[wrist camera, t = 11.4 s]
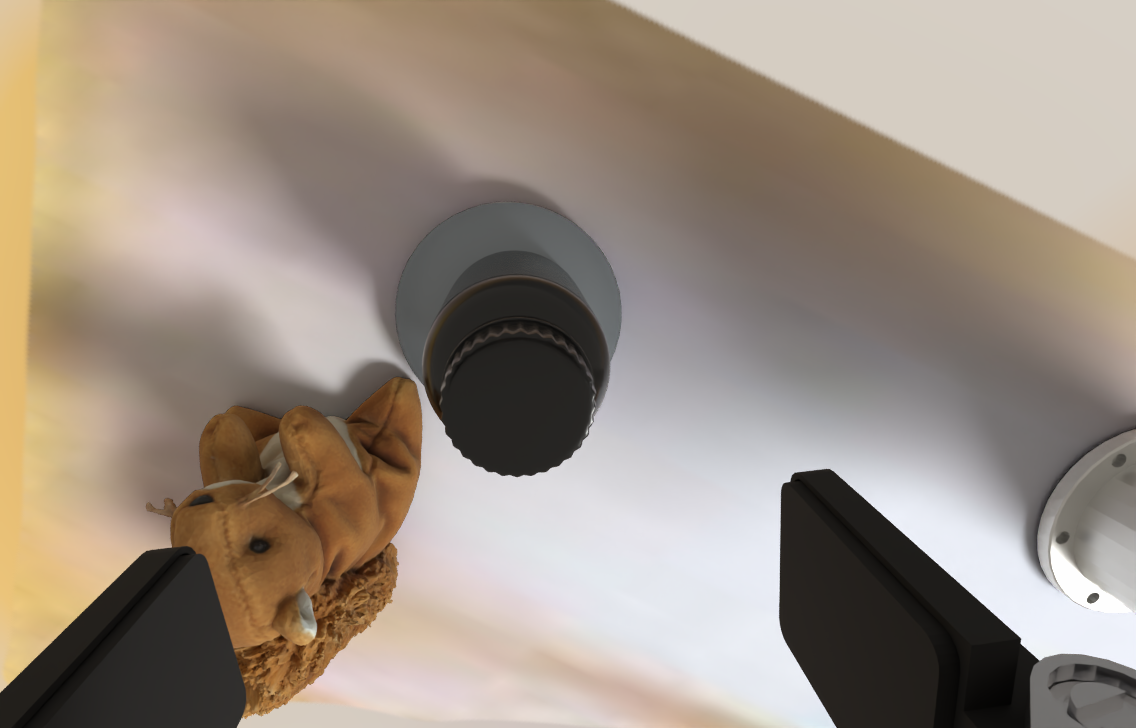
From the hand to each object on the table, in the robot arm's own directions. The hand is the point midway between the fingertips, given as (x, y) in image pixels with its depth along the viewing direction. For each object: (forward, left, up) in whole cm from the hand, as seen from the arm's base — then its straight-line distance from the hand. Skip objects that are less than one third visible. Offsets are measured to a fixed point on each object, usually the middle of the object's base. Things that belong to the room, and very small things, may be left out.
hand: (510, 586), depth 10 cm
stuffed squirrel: (+11, +9, -23) cm, 26 cm away
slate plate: (0, 0, -22) cm, 22 cm away
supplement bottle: (0, 0, -21) cm, 21 cm away
